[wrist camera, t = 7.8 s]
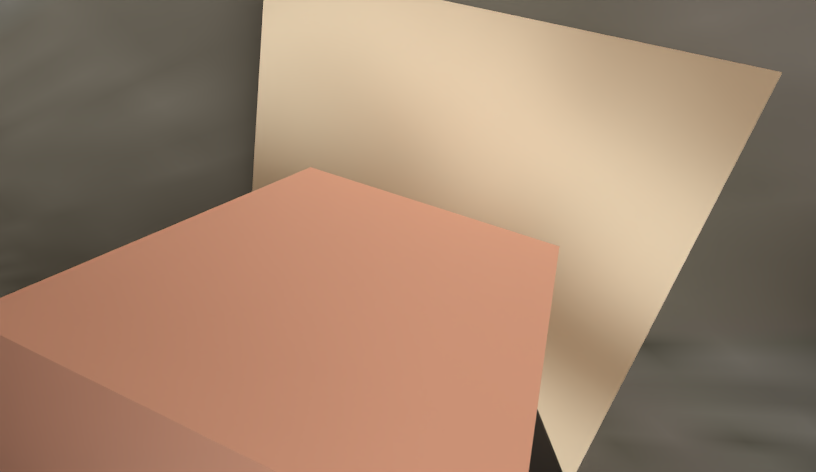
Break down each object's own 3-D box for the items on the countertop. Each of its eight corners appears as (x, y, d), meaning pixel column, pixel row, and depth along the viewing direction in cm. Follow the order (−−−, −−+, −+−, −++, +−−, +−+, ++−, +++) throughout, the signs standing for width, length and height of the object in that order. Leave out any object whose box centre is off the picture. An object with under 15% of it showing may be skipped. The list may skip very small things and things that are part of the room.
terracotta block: (484, 444, 10) (380, 850, 5) (288, 360, 12) (38, 620, 6) (559, 246, 8) (513, 590, 3) (310, 167, 9) (-40, 315, 4)
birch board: (551, 489, 14) (548, 525, 13) (263, 363, 16) (240, 385, 15) (758, 69, 9) (782, 72, 8) (296, -29, 11) (266, -38, 10)
